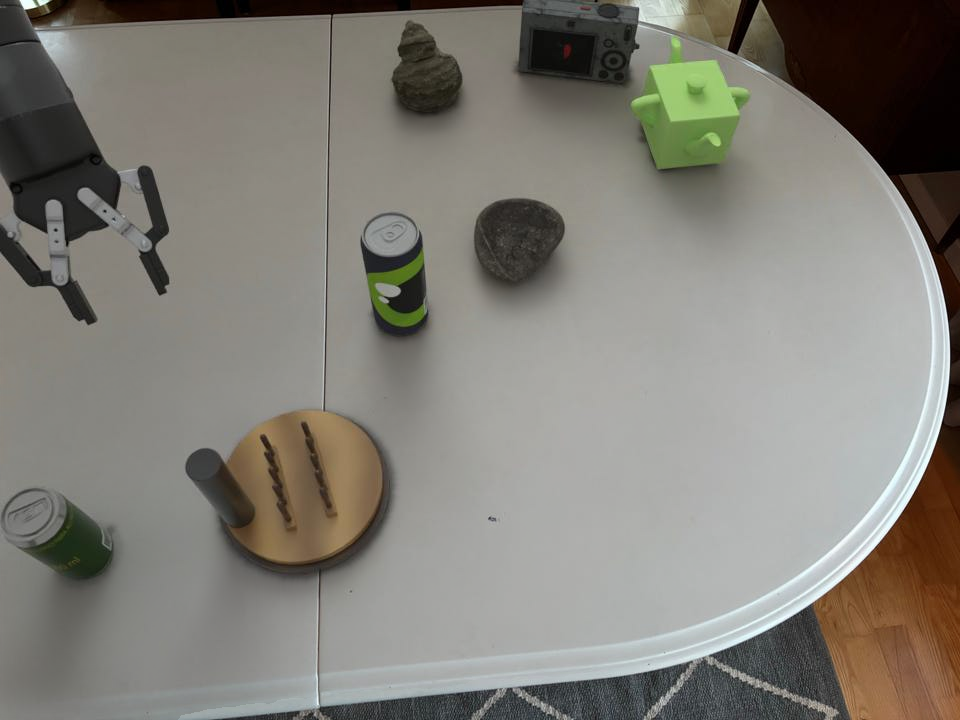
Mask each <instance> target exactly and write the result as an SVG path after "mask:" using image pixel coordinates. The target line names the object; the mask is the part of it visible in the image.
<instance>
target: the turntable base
mask: <svg viewBox="0 0 960 720" xmlns="http://www.w3.org/2000/svg"><path fill="white" fill-rule="evenodd" d="M335 414H336V415H338V416H341V417H343V418H345V419H347V420H349V421H351V422H352V423H354V424H355V425H357V426H358V427H359V428H360V429H361V430H362V431H363V432H364V433H365V434H366V435H367V436H368V437H369V439H370V440H371V441H372V443H373V445H374V446H375V448H376V451H377V453H378V455H379V458H380V462H381V467H382V472H383V491H382V496H381V501H380V504H379V507H378V510H377V512H376V514H375V516H374V518H373V520H372V521H371V523H370V524H369V526H368V527H367V529H366V530H365V531H364V532H363V533H362V535H361V536H360V537H359V538H358V539H357V540H355V541H354V542H353V543H352V544H351V545H349V546H348V547H347V548H345V549H344V550H342V551H341V552H339V553H337V554H335V555H334V556H331V557H329V558H326V559H324V560H321V561H317V562H314V563H308V564H301V565H288V564H279V563H275V562H271V561H268V560H266V559H263V558H261V557H259V556H257V555H255V554H253V553H252V552H250V551H249V550H248V549H246V548H245V547H244V546H243V545H242V544H241V543H240V542H239V541H238V540H237V539H236V537H235V536H234V535H233V534H232V532H231V531H230V529H229V528H228V526H227V523H226V522H225V521H224V520H223V518H222V517H221V516H220V515H219V517H220V521H221V524H222V527H223V529H224V531H225V534H226V536H227V537H228V539H230V541H231V543H232V544H233V545H234V546H235V548H237V550H239V551H240V553H241V554H242V555H243V556H244V557H246V558H247V559H248V560H250V561H251V562H252V563H254V564H256V565H258V566H260V567H262V568H264V569H266V570H269V571H273V572H278V573H281V574H282V573H283V574H291V575H297V574H298V575H301V574H311V573H316V572H319V571H320V572H321V571H323V570H327V569H329V568H331V567H334V566H337V565H338V564H341V563H342V562H345V560H347V559H349V558H350V557H352V556H353V555H355V554H356V553H357V552H358V551H359V550H361V548H362V547H364V545H366V544H367V543H368V541H369V540H370V539H371V538H372V536H374V534H375V532H376V531H377V529H378V528H379V526H380V524H381V523H382V521H383V518H384V516H385V514H386V513H385V512H386V509H387V507H388V503H389V497H390V476H389V471H388V467H387V463H386V459H385V456H384V454H383V451H382V449H381V448H380V447H379V445H378V443H377V441H376V440H375V439H374V438H373V436H372V435H371V434H370V433H369V432H368V431H367V430H366V429H365V428H363V427H362V426H361V425H359V424H358V423H356V422H355V421H353V420H351V419H349V418H347V417H345V416H342V415H339V414H337V413H335Z"/></svg>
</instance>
